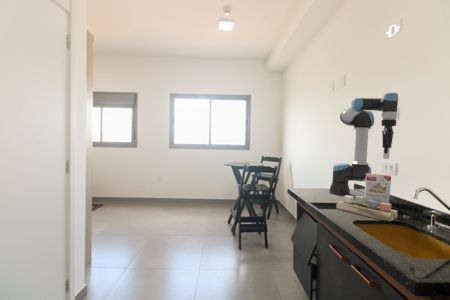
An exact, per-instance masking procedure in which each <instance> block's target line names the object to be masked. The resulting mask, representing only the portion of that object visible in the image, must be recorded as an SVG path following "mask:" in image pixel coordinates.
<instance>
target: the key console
mask: <svg viewBox="0 0 450 300" xmlns="http://www.w3.org/2000/svg"><path fill="white" fill-rule="evenodd" d="M335 209H336V210H341V211H345V212H349V213H352V214H357V215H361V216H365V217H370V218H374V219H378V220H382V221H385V222H391V221H393V220H395V219H397V218H398V214H399V211H398V210H397V209H392V208H391V211H389V212H388V211H387V212H384V211H383V210H380V207H378V208H375V209H371V208H370V207H367V204H362V206H358V203H355V200H354V202H353V203H350V204H348V203H347V202H343V200H339V201H336V208H335Z"/></svg>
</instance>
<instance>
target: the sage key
mask: <svg viewBox="0 0 450 300" xmlns="http://www.w3.org/2000/svg"><path fill="white" fill-rule="evenodd" d="M354 201H355V203H358V206H362V204H364V203H365V201H366V197H364V195H363V196H361V195H356V196H354Z"/></svg>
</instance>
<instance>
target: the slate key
mask: <svg viewBox="0 0 450 300" xmlns="http://www.w3.org/2000/svg"><path fill="white" fill-rule="evenodd" d="M367 207H370V208H371V209H375V208H378V201H374V200H368V201H367Z"/></svg>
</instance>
